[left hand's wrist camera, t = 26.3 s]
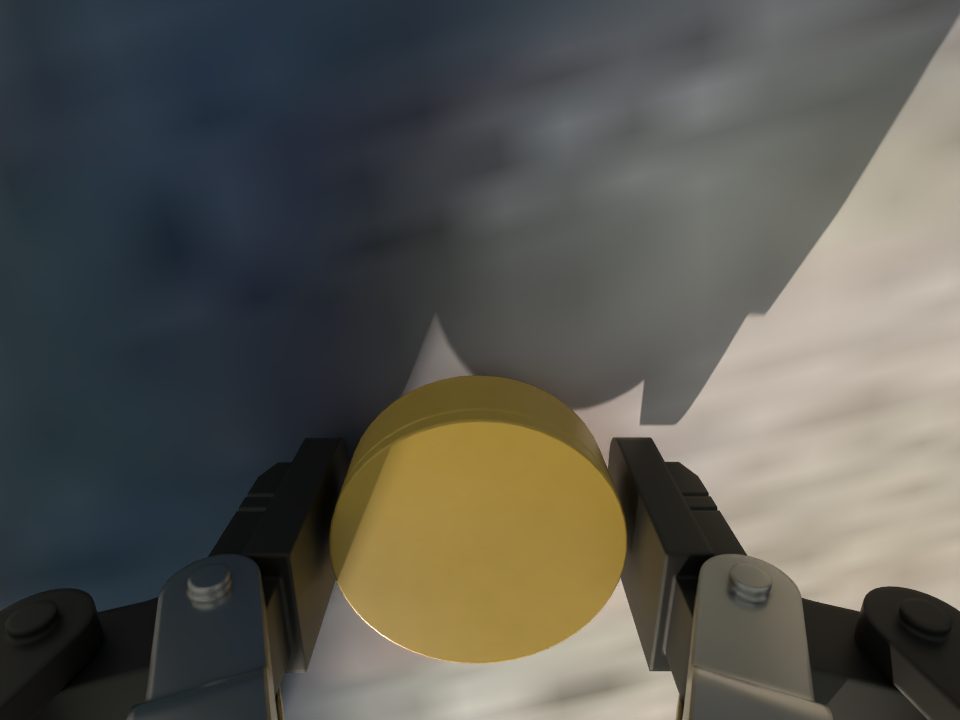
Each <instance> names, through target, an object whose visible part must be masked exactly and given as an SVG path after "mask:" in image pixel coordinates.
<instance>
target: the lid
mask: <svg viewBox="0 0 960 720" xmlns="http://www.w3.org/2000/svg"><path fill="white" fill-rule="evenodd" d="M627 543H628V532H627V524H626V517H625V514H624V510H623V507H622V504H621V501H620V498H619V496H618V493H617V491H616V489H615V486H614V484H613V481H612V479H611V476H610V474H609V471H608V469H607V466H606V464H605V461H604V459H603V456H602V454H601V451H600V449H599V447H598V445H597V443H596V441H595V439H594V437H593V435H592V434H591V432H590V431H589V429H588V428H587V426H586V425H585V423H584V422H583V421H582V420H581V419H580V418H579V417H578V416H577V414H576V413H575V412H574V411H573V410H571V409H570V408H569V407H568V406H567V405H565V404H564V403H563V402H562V401H560V400H559V399H557V398H555V397H554V396H552V395H551V394H549V393H547V392H545V391H543V390H541V389H539V388H537V387H534V386H532V385H530V384H526V383H523V382H520V381H517V380H513V379H508V378H502V377H497V376H480V375H476V376H460V377H455V378H449V379H444V380H440V381H437V382H434V383H430V384H427V385H424V386H422V387H420V388H418V389H416V390H413V391H411V392H409V393H407V394H406V395H404V396H403V397H401V398H399V399H398V400H396V401H395V402H393V403H392V404H391V405H390V406H388V407H387V408H386V409H385V410H384V411H382V412H381V413H380V414H379V415H378V417H377V418H376V419H375V420H374V421H373V422H372V423H371V424H370V426H369V427H368V429H367V430H366V431H365V433H364V434H363V436H362V437H361V439H360V441H359V443H358V446H357V448H356V450H355V452H354V455H353V458H352V460H351V463H350V466H349V469H348V472H347V475H346V478H345V480H344V483H343V486H342V489H341V492H340V495H339V498H338V500H337V503H336V506H335V510H334V513H333V516H332V520H331V526H330V534H329V552H330V558H331V563H332V569H333V572H334V574H335V577H336V580H337V583H338V585H339V587H340V589H341V591H342V593H343V595H344V596H345V598H346V600H347V601H348V603H349V604H350V605H351V607H352V608H353V609H354V611H355V612H356V613H357V614H358V615H359V616H360V617H361V618H362V619H363V620H364V621H365V622H366V623H367V624H368V625H369V626H370V627H372V628H373V629H374V630H375V631H377V632H378V633H379V634H380V635H382V636H384V637H385V638H387V639H388V640H390V641H392V642H393V643H395V644H397V645H399V646H401V647H403V648H405V649H408V650H410V651H412V652H415V653H418V654H421V655H424V656H427V657H431V658H435V659H439V660H443V661H451V662H458V663H495V662H502V661H508V660H514V659H518V658H522V657H526V656H529V655H533V654H535V653H538V652H541V651H543V650H546V649H548V648H550V647H552V646H554V645H556V644H558V643H560V642H562V641H564V640H565V639H567V638H569V637H570V636H572V635H573V634H575V633H576V632H578V631H579V630H580V629H581V628H582V627H584V626H585V625H586V624H587V623H589V622H590V621H591V620H592V619H593V618H594V617H595V615H596V614H597V613H598V612H599V611H600V610H601V609H602V608H603V606H604V605H605V604H606V602H607V601H608V599H609V598H610V597H611V595H612V593H613V591H614V589H615V588H616V586H617V584H618V582H619V579H620V576H621V574H622V571H623V568H624V564H625V559H626V554H627Z"/></svg>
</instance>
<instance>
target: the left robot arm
mask: <svg viewBox="0 0 960 720" xmlns="http://www.w3.org/2000/svg"><path fill="white" fill-rule="evenodd" d="M348 469H349V464H348V453H347V446H346V442H345V439H344V438H306V439H305V440H304V442H303V443H302V445H301V447H300V449H299V451H298V452H297V454H296V456H295V458H294V460H293V461H292V463H277V464H275V465H274V466H273V467H271V468H270V469H269V470H267V471H266V472H265V473H263V474H262V475H260V476H259V477H258V478H257V480H256V482H255V483H254V485H253V486H252V488H251V490H250V491H249V493H248V497H246V498H245V499H244V501H243V502H242V504H241V505H240V507H239V511H237V512H236V513H235V515H234V517H233V518H232V520H231V521H230V523H229V525H228V526H227V528H226V529H225V531H224V533H223V534H222V536H221V537H220V539H219V540H218V542H217V544H216V545H215V547H214V548H213V550H212V552H211V553H210V555H209V556H208V557H207V558H203V559H200V560H198V561H195V562H193V563H191V564H189V565H187V566H185V567H184V568H182V569H181V570H179V571H178V572H176V573H175V574H174V575H173V576H172V577H171V578H170V579H169V580H168V581H167V582H166V583H165V585H164V586H163V587H162V589H161V591H160V594H159V597H157V598H154V599H152V600H149V601H145V602H141V603H137V604H133V605H128V606H124V607H119V608H115V609H111V610H106V611H102V612H97V610H96V607H95V603H94V601H93V598H92V597H91V596H90V595H89V594H88V593H86V592H84V591H82V590H78V589H70V588H66V589H55V590H49V591H45V592H41V593H38V594H35V595H32V596H29V597H27V598H25V599H22V600H20V601H18V602H16V603H14V604H12V605H10V606H9V607H7V608H5V609H4V610H2V611H0V720H284V712H283V704H282V698H281V692H280V683H281V680H282V677H283V675H284V672H306V671H307V668H308V665H309V662H310V659H311V656H312V653H313V649H314V646H315V643H316V640H317V637H318V634H319V630H320V627H321V624H322V621H323V618H324V615H325V612H326V608H327V605H328V602H329V599H330V596H331V593H332V589H333V586H334V583H335V580H336V577H335V574H334V572H333V569H332V563H331V558H330V552H329V534H330V526H331V520H332V516H333V513H334V510H335V506H336V503H337V500H338V498H339V495H340V492H341V489H342V486H343V483H344V480H345V478H346V475H347V472H348ZM608 471H609V474H610V476H611V479H612V481H613V484H614V486H615V489H616V491H617V493H618V496H619V498H620V501H621V504H622V507H623V510H624V514H625V517H626V524H627V532H628V543H627V554H626V559H625V564H624V568H623V571H622V574H621V576H620V577H621V580H622V583H623V587H624V590H625V593H626V596H627V599H628V603H629V606H630V609H631V612H632V616H633V619H634V622H635V625H636V628H637V632H638V635H639V638H640V641H641V645H642V648H643V651H644V654H645V657H646V661H647V664H648V667H649V670H650V671H672V674H673V677H674V680H675V683H676V686H677V689H678V691H679V698H678V704H677V712H676V720H960V611H958V610H957V609H955V608H954V607H952V606H951V605H949V604H947V603H945V602H943V601H941V600H939V599H937V598H935V597H933V596H930V595H928V594H925V593H922V592H919V591H916V590H912V589H908V588H902V587H880V588H876V589H874V590H872V591H870V592H869V593H868V594H867V595H866V596H865V598H864V601H863V604H862V608H861V611H860V612H859V611H854V610H850V609H845V608H841V607H837V606H832V605H828V604H823V603H819V602H815V601H811V600H807V599H804V598H801V594H800V591H799V589H798V587H797V586H796V585H795V583H794V582H793V581H792V580H791V579H790V578H789V577H788V576H787V575H786V574H785V573H784V572H782V571H781V570H779V569H778V568H776V567H775V566H773V565H771V564H769V563H767V562H765V561H762V560H760V559H757V558H753V557H750V556H747V554H746V553H745V551H744V550H743V548H742V546H741V545H740V543H739V541H738V540H737V538H736V537H735V535H734V533H733V532H732V530H731V529H730V527H729V525H728V524H727V522H726V521H725V519H724V517H723V516H722V514H721V512H720V511H717V506H716V504H715V503H714V501H713V500H712V498H711V496H709V495H708V494H709V493H708V491H707V490H706V488H705V487H704V485H703V483H702V482H701V480H700V479H699V477H698V476H697V475H696V474H694V473H693V472H692V471H690V470H689V469H687V468H686V467H685V466H683V465H682V464H681V463H679V462H664V460H663V458H662V456H661V454H660V452H659V451H658V449H657V447H656V445H655V443H654V441H653V440H652V439H651V438H613V439H612V441H611V445H610V453H609V464H608Z"/></svg>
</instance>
